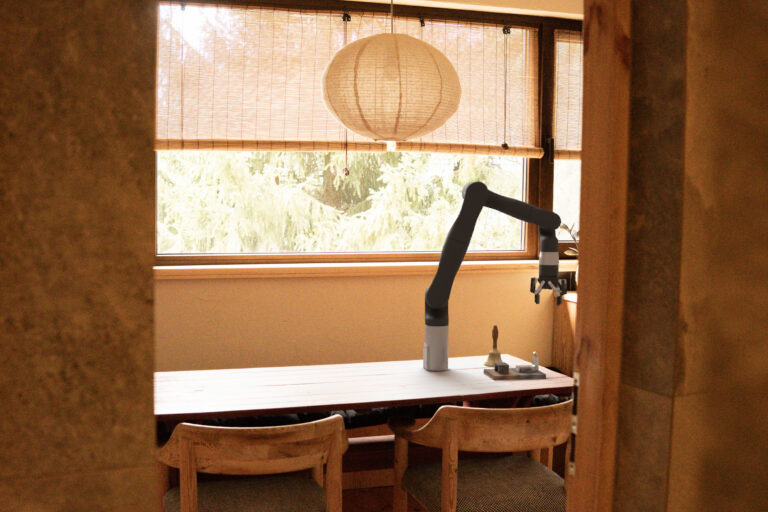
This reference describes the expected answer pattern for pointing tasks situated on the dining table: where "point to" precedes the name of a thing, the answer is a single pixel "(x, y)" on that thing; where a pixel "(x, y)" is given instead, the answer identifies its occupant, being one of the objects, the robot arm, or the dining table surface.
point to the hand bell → (494, 350)
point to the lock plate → (512, 373)
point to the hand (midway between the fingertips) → (548, 304)
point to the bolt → (534, 365)
